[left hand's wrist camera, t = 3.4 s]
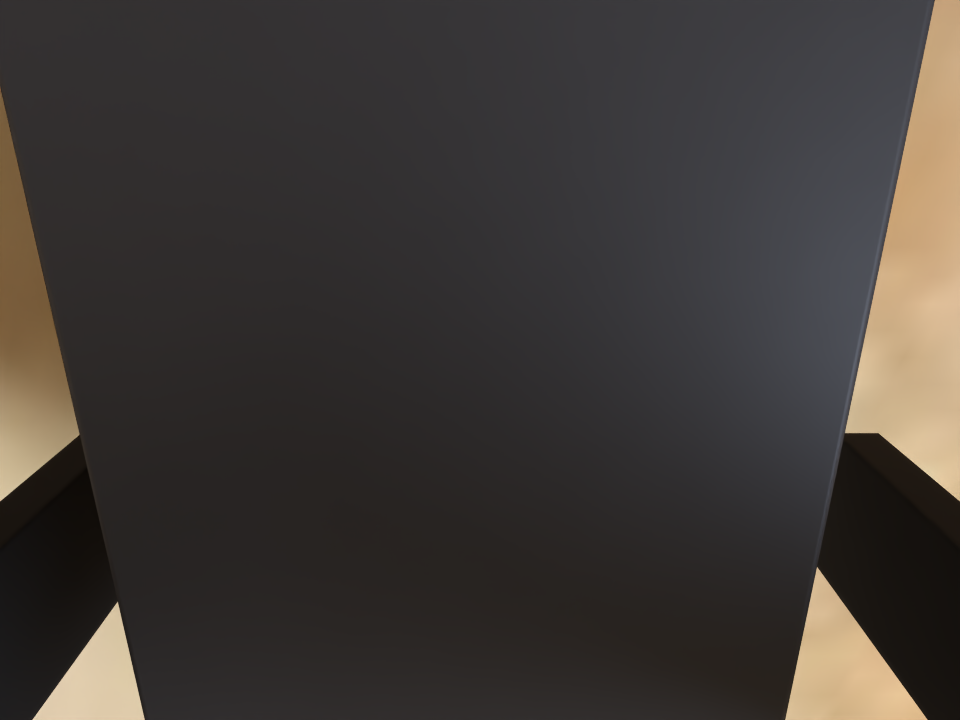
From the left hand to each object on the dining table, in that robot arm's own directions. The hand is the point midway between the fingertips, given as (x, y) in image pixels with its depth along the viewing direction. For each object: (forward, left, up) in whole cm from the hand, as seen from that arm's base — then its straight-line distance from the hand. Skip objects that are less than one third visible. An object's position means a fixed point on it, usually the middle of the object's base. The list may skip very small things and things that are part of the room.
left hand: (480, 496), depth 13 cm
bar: (+2, +9, -3) cm, 9 cm away
